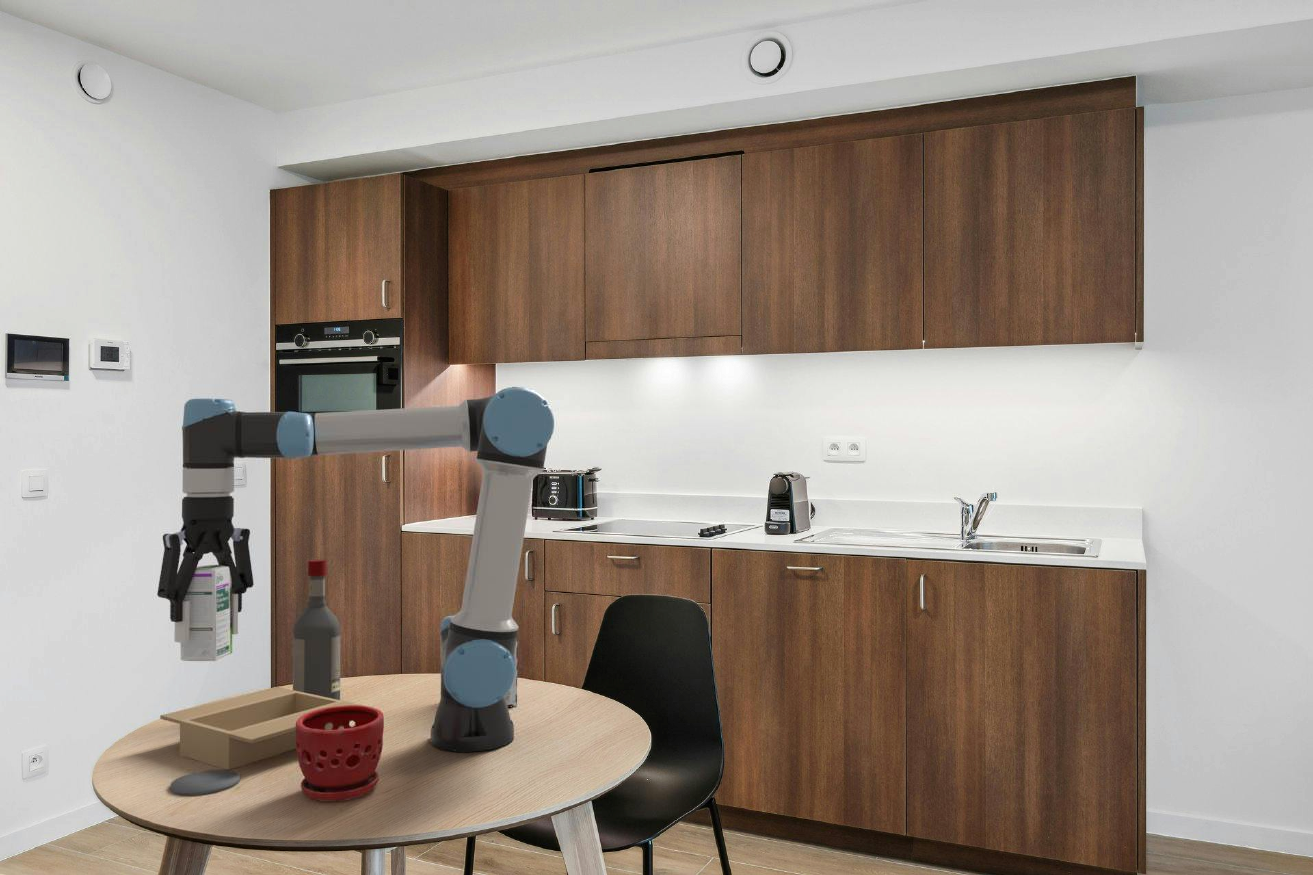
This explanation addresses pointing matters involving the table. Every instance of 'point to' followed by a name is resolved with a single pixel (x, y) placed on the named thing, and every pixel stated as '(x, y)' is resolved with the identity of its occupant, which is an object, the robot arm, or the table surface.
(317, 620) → the liquor
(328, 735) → the plant pot
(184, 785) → the coaster
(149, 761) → the table surface
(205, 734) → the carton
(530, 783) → the table surface
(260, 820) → the table surface
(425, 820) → the table surface
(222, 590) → the syrup box
